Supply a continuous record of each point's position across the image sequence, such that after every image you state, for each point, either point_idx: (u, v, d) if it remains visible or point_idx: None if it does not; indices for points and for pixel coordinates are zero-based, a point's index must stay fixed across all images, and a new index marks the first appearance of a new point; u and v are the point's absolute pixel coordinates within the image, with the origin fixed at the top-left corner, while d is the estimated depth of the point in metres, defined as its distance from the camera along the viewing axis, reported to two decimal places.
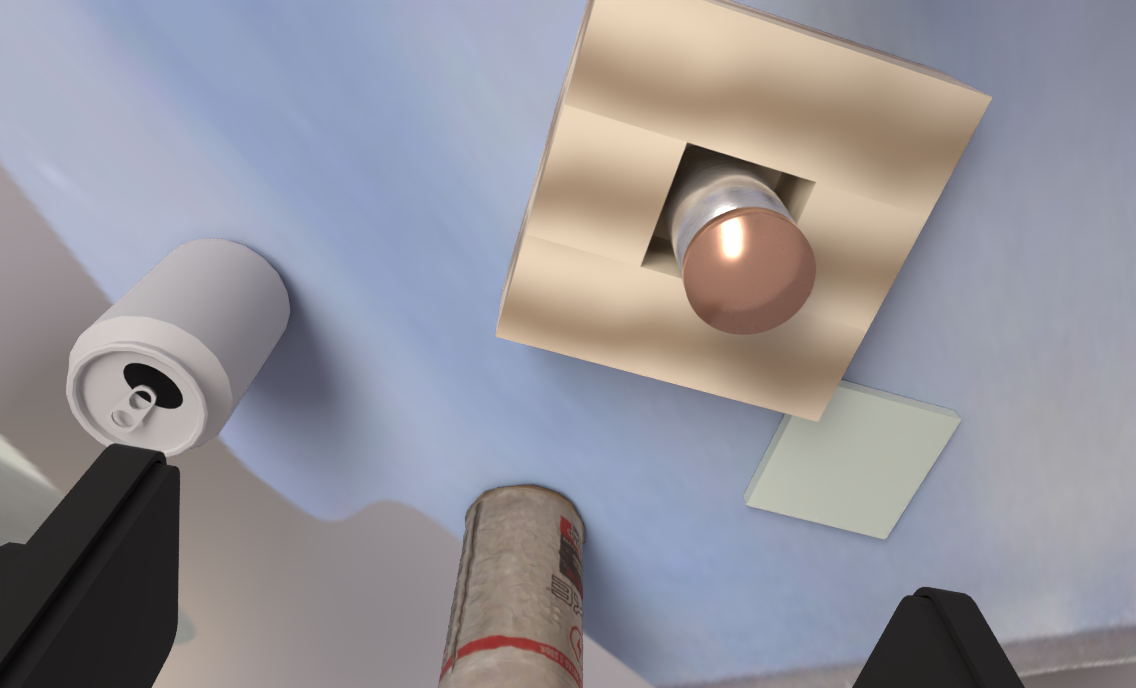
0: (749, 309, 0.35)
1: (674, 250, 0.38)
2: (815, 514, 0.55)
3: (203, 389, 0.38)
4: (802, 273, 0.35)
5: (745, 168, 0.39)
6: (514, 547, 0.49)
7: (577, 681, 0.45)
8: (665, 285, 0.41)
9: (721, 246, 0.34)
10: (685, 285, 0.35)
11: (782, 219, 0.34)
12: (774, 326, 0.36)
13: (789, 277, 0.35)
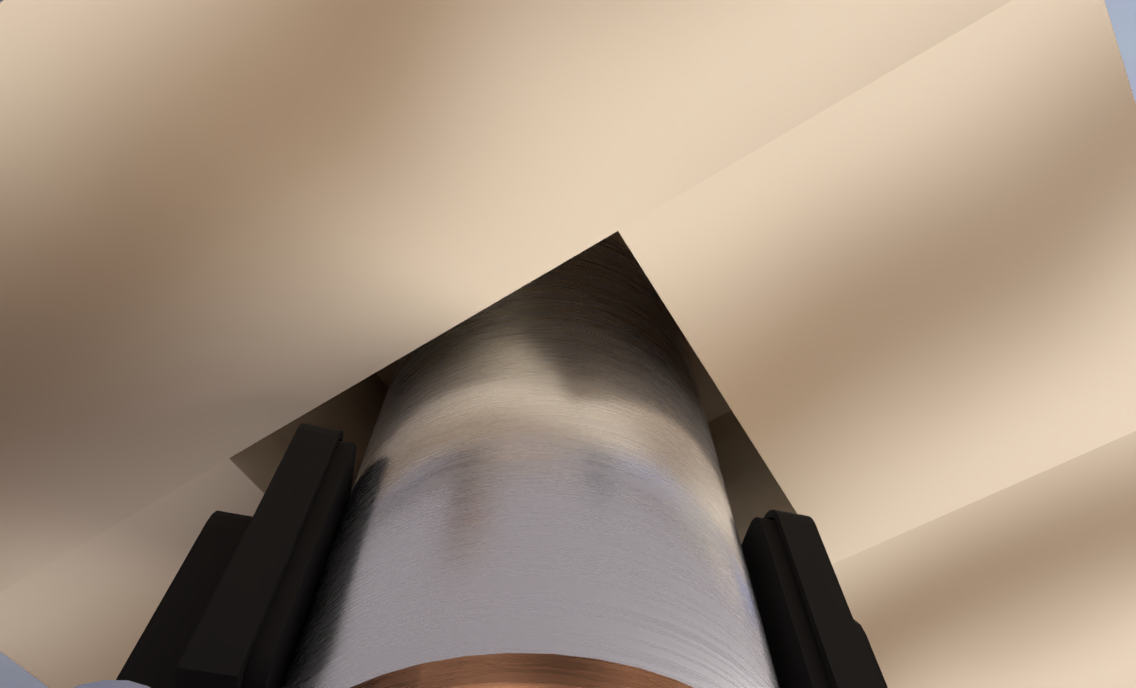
0: None
1: (660, 475, 0.09)
2: None
3: None
4: None
5: None
6: None
7: None
8: (488, 254, 0.10)
9: None
10: None
11: None
12: None
13: None
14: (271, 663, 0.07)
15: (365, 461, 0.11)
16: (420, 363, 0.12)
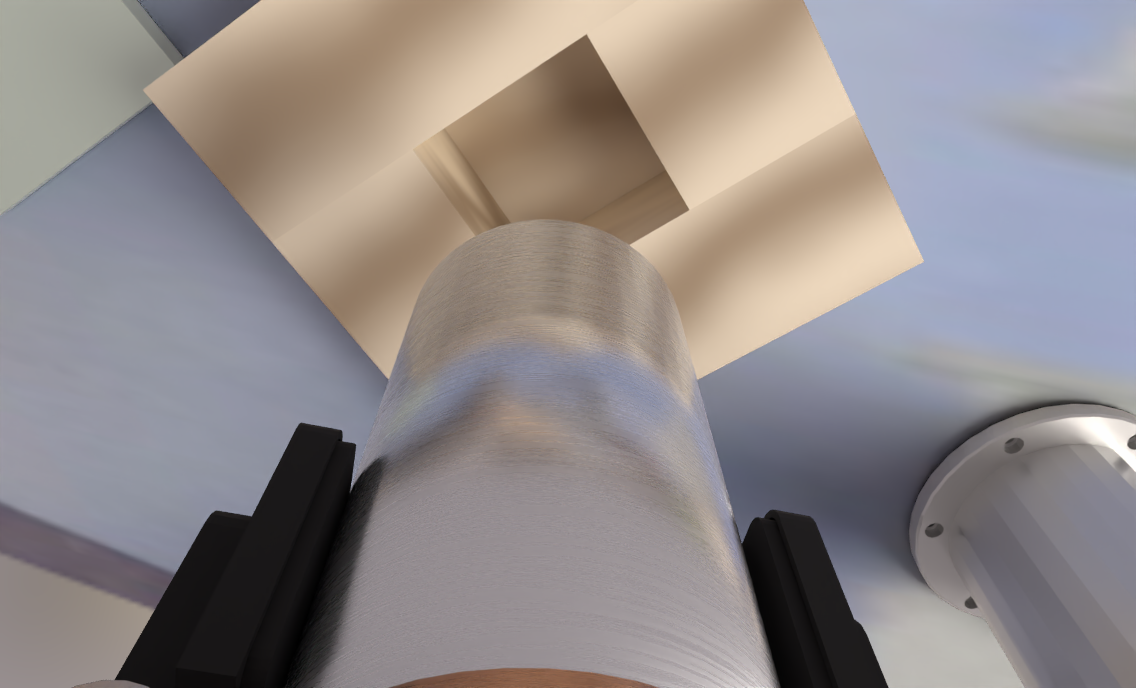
0: None
1: (660, 478, 0.09)
2: None
3: None
4: None
5: None
6: None
7: None
8: (532, 45, 0.25)
9: None
10: None
11: None
12: None
13: None
14: (270, 663, 0.07)
15: (362, 465, 0.11)
16: (417, 365, 0.12)
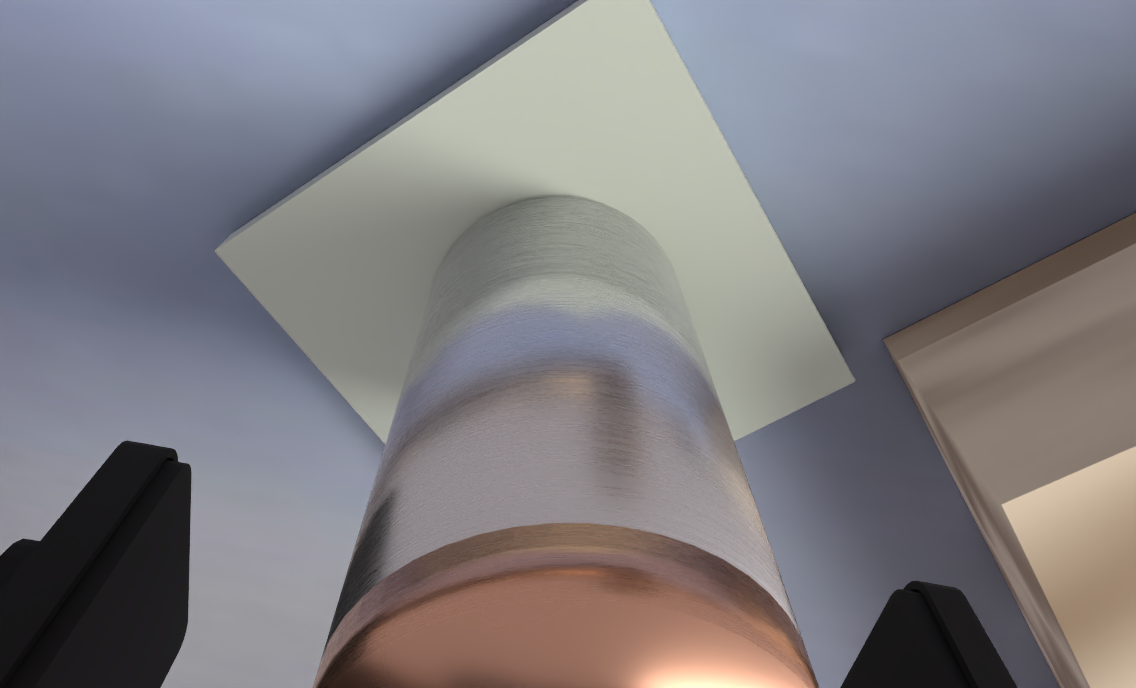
0: None
1: (671, 397, 0.11)
2: (440, 137, 0.16)
3: None
4: None
5: None
6: None
7: None
8: None
9: None
10: (727, 628, 0.07)
11: None
12: None
13: None
14: None
15: (402, 401, 0.12)
16: (447, 316, 0.13)
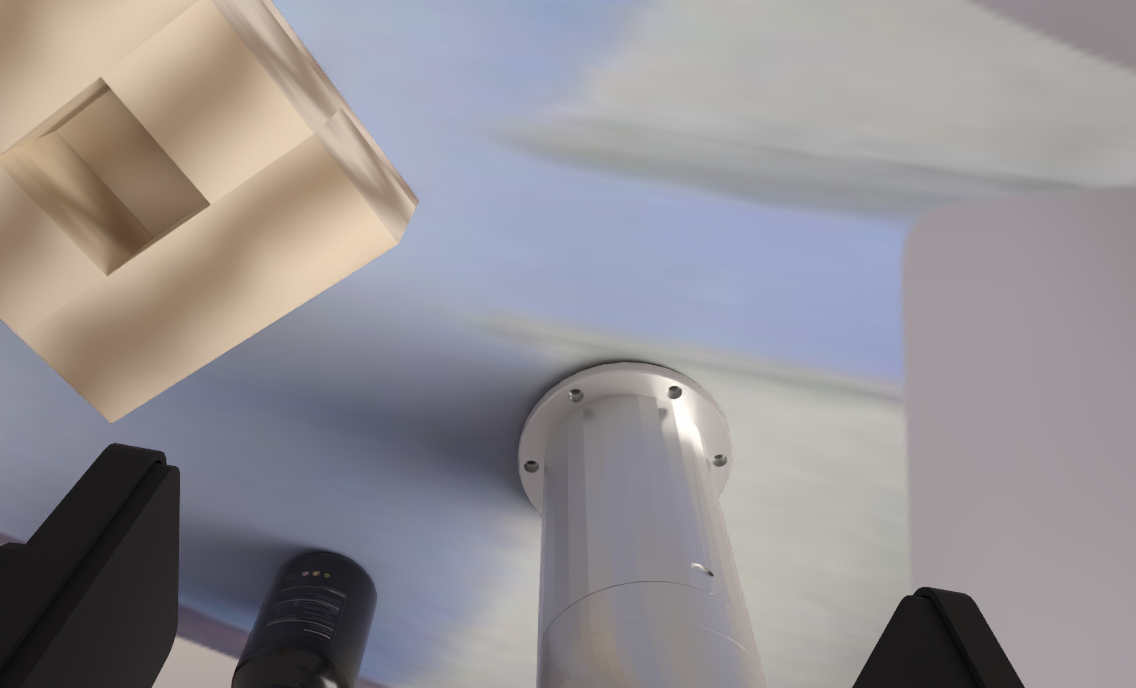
0: None
1: None
2: None
3: None
4: None
5: None
6: None
7: None
8: (63, 84, 0.34)
9: None
10: None
11: None
12: None
13: None
14: None
15: None
16: None
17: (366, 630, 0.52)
